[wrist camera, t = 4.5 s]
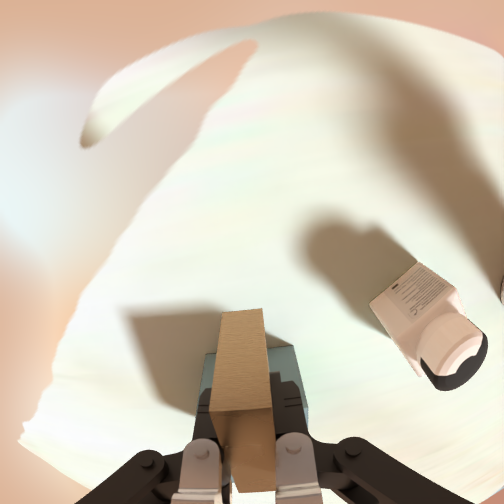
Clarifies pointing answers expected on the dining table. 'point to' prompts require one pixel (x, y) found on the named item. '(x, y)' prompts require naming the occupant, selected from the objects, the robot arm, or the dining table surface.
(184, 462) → the robot arm
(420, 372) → the container
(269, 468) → the block
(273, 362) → the coin box
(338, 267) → the dining table surface
